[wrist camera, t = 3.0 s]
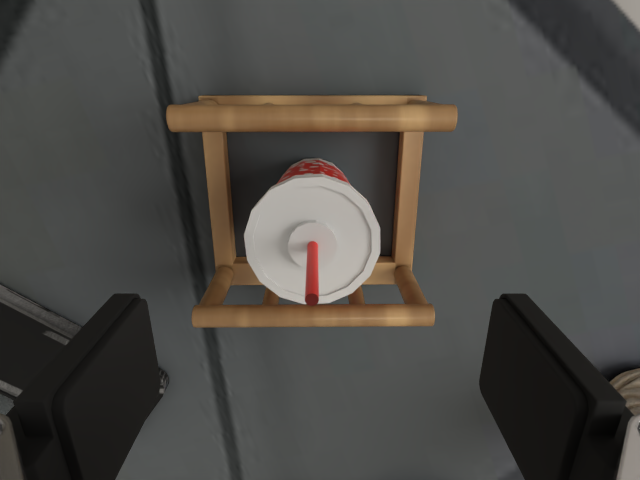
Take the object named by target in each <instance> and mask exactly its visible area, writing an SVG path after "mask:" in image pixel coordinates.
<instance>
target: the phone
mask: <svg viewBox="0 0 640 480" xmlns="http://www.w3.org/2000/svg"><path fill="white" fill-rule="evenodd" d="M81 328H82V327H80V326H78V325H76V324H74V323H72V322H71V321H69V320H67V319H65V318H63V317H61V316H59V315H57V314H55V313H53V312H52V311H50V310H48V309H46V308H44V307H42V306H40V305H38V304H36V303H34V302H33V301H31V300H29V299H27V298H25V297H23V296H21V295H19V294H17V293H15V292H13V291H12V290H10V289H8V288H6V287H4V286H2V285H0V394H2V395H4V396H7V397H9V398H11V399H13V400H15V399H16V398H17V397H18V395H19V394H20V393H21V392H22V391H23V390H24V389H25V388H26V387H27V386H28V385H29V384H30V383H31V382H32V381H33V380H34V378H35V377H36V376H37V375H38V374H39V373H40V372H41V371H42V370H43V369H44V368H45V367H46V366H47V365H48V364H49V362H50V361H51V360H52V359H53V358H54V357H55V356H56V355H57V354H58V353H59V352H60V351H61V350H62V349H63V348H64V347H65V345H66V344H67V343H68V342H69V341H70V340H71V339H72V338H73V337H74V336H75V335H76V334H77V333H78V332H79V331H80V330H81ZM159 374H160V380H161V385H160V390H159V393H158V396H157V398H156V400H155V402H154V404H153V406H152V408H151V410H150V411H149V413H148V415H147V417H148V416H149V414H150V413H151V412H152V410H153V409H154V407H155V406H156V405H157V403H158V402H159V401H160V399H161V398H162V396H163V394H164V392H165V390H166V388H167V386H168V384H169V378H168V375H167V374H166V373H165V372H164V371H163V370H161V369H160V368H159ZM147 417H146V419H147ZM146 419H145V420H146Z"/></svg>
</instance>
